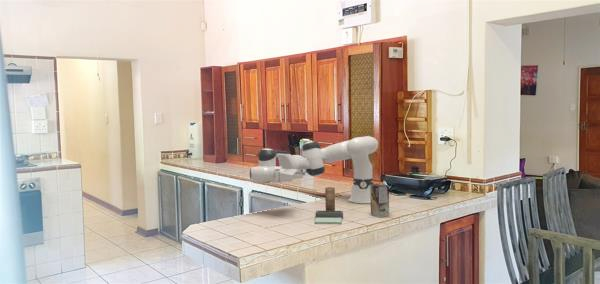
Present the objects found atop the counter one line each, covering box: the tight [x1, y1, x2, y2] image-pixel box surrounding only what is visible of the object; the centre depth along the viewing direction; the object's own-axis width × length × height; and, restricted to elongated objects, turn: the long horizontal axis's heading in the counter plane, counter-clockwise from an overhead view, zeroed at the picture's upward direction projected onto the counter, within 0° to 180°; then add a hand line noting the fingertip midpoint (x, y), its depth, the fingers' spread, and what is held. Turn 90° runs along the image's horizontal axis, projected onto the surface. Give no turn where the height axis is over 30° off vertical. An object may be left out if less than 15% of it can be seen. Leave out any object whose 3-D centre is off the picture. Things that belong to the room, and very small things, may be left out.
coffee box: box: [370, 183, 390, 218], centre depth 241 cm, size 9×6×16 cm
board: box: [314, 217, 343, 225], centre depth 230 cm, size 9×13×1 cm
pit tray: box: [315, 210, 344, 220], centre depth 239 cm, size 5×14×3 cm, turn 83°
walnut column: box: [324, 186, 336, 211], centre depth 246 cm, size 5×5×14 cm
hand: (304, 174), depth 248 cm, fingers open, 8 cm apart
